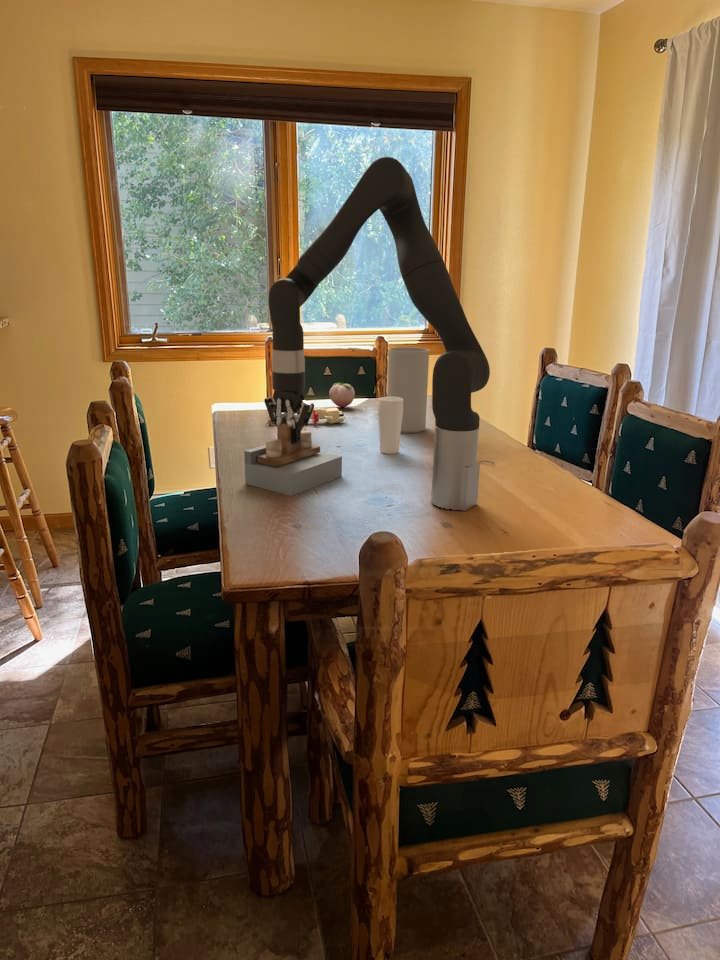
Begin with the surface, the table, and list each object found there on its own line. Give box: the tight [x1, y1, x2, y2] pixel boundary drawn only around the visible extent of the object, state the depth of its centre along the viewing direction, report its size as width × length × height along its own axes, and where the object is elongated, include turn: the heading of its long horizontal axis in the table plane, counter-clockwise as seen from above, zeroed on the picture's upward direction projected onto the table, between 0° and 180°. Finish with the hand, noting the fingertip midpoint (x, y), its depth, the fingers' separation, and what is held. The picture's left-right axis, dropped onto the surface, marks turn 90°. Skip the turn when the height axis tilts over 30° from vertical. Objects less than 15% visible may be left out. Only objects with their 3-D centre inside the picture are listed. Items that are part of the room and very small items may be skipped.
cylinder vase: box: [386, 346, 430, 434], centre depth 214 cm, size 12×12×25 cm
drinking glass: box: [377, 396, 403, 455], centre depth 188 cm, size 7×7×15 cm
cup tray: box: [257, 421, 321, 467], centre depth 162 cm, size 16×6×8 cm, turn 145°
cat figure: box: [267, 407, 347, 426], centre depth 222 cm, size 10×9×25 cm
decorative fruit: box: [328, 380, 356, 408], centre depth 246 cm, size 9×8×10 cm
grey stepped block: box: [244, 444, 343, 497], centre depth 163 cm, size 14×19×8 cm
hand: (289, 442), depth 162 cm, fingers closed on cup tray, 3 cm apart
